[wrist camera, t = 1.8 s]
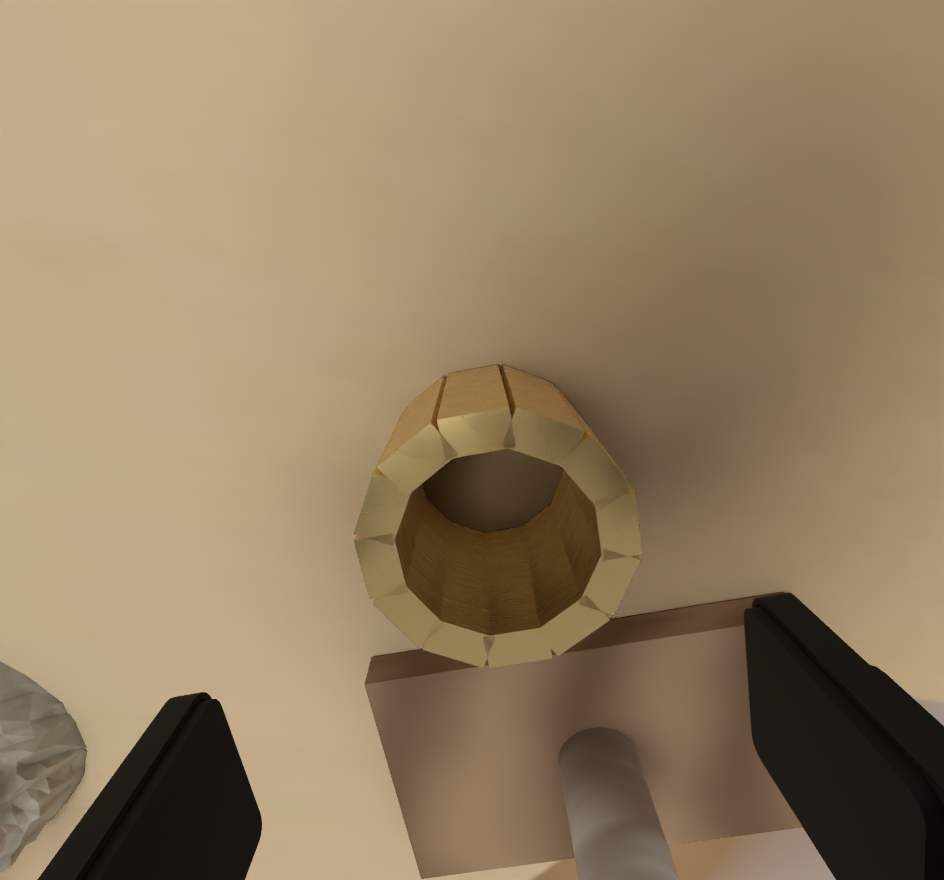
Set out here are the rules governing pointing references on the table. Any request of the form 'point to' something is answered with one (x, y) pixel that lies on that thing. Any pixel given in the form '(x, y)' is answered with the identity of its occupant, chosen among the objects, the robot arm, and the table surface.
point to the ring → (505, 551)
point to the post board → (580, 749)
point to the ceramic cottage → (33, 760)
